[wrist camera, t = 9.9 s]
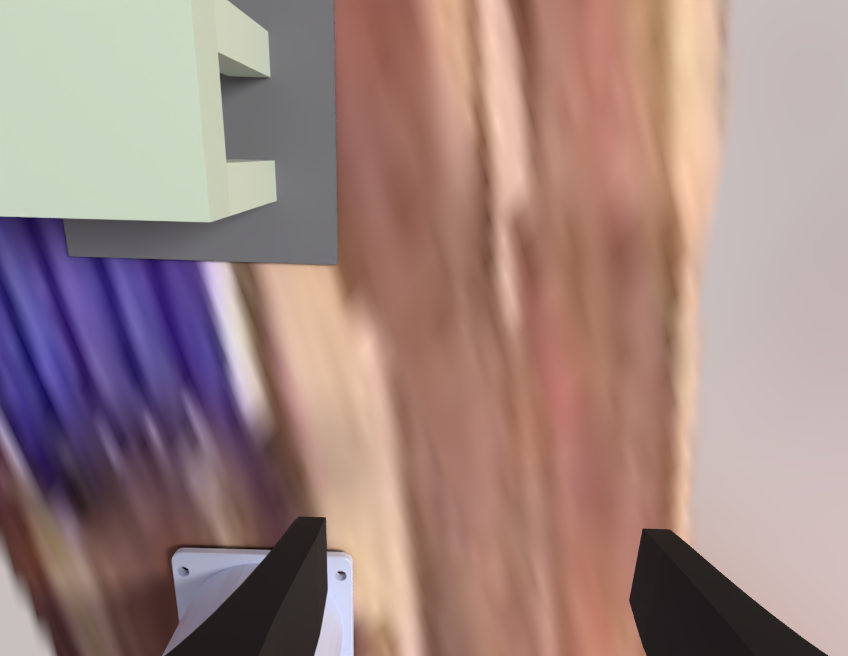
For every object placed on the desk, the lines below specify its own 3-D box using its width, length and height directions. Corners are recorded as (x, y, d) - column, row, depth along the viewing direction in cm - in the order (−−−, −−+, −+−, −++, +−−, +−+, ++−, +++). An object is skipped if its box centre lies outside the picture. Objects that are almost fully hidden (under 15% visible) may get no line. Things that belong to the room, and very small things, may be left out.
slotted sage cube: (276, 200, 20) (210, 222, 14) (124, 196, 20) (-11, 215, 14) (268, 31, 18) (188, -31, 12) (101, 26, 18) (-63, -39, 12)
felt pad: (338, 263, 21) (336, 264, 21) (73, 254, 21) (68, 256, 21) (333, -41, 18) (332, -44, 18) (24, -52, 18) (18, -55, 18)
